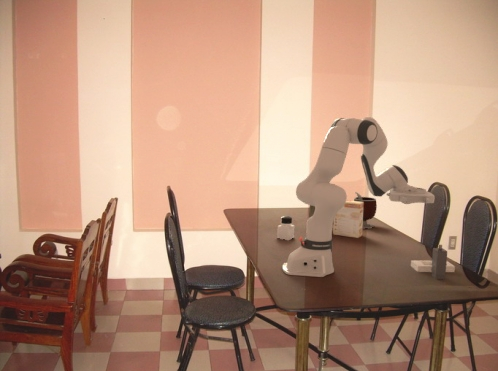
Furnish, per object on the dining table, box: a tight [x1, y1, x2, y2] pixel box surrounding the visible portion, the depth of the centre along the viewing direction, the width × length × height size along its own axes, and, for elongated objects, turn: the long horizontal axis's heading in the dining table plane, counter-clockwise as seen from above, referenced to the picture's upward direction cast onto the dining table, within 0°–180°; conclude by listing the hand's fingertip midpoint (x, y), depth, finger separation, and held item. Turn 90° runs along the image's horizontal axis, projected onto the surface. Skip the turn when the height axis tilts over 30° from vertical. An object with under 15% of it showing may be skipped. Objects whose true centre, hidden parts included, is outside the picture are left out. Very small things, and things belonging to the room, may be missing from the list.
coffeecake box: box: [332, 199, 364, 239], centre depth 272 cm, size 15×7×20 cm, turn 59°
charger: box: [430, 244, 448, 280], centre depth 199 cm, size 4×5×14 cm
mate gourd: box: [353, 191, 378, 229], centre depth 295 cm, size 16×14×20 cm
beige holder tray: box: [410, 260, 456, 273], centre depth 210 cm, size 16×8×4 cm, turn 92°
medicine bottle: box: [276, 215, 296, 241], centre depth 263 cm, size 7×7×12 cm
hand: (417, 201), depth 217 cm, fingers open, 8 cm apart
